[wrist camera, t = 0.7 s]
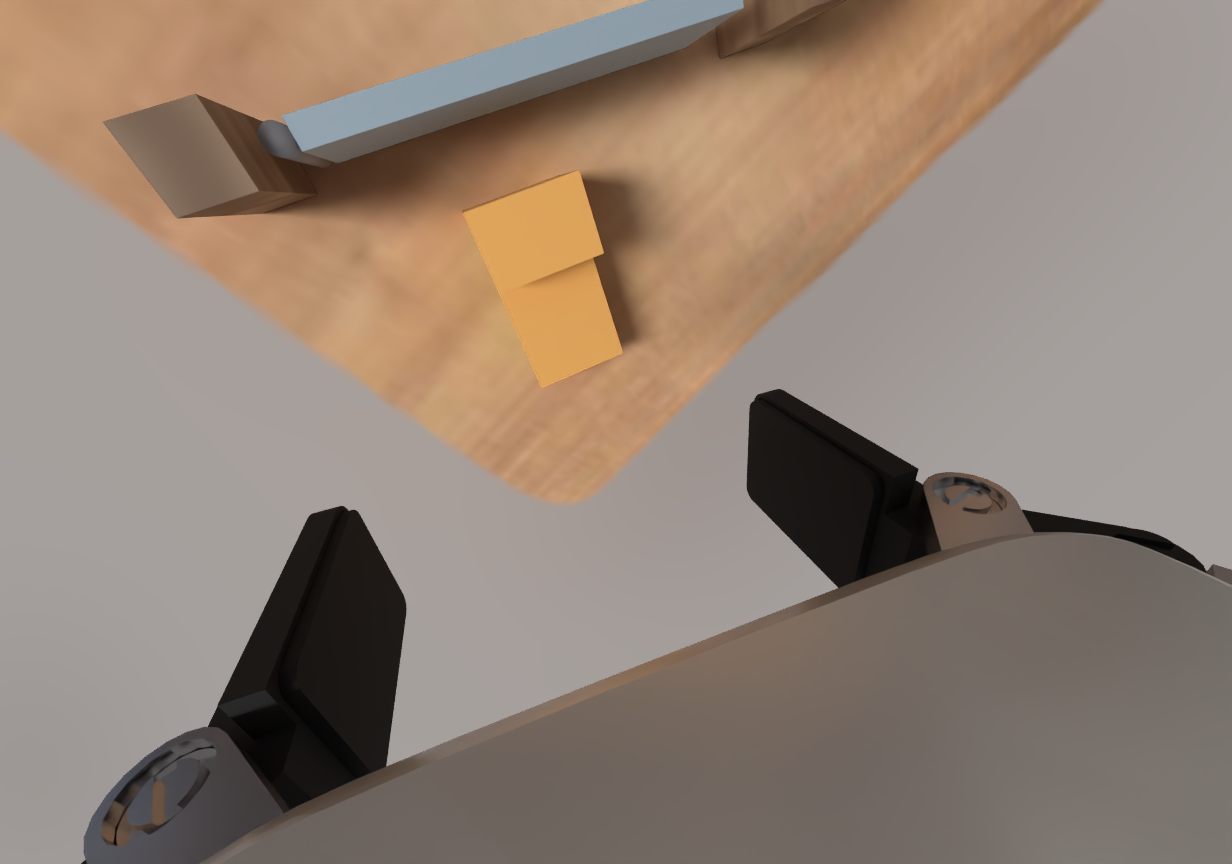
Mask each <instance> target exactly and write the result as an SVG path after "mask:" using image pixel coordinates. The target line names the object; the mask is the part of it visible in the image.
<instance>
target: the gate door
mask: <svg viewBox="0 0 1232 864" xmlns="http://www.w3.org/2000/svg"><path fill="white" fill-rule="evenodd" d="M743 8H744V5H743V0H648V1H645V2H642V3H639V4H635V5H632V6H629V7H626V8H623V9H620V10H616V11H613V12H610V13H607V14H604V15H600V16H597V17H594V18H591V19H588V20H585V21H581V22H578V23H575V24H572V25H569V26H565V27H562V28H559V29H556V30H553V31H550V32H546V33H543V34H540V35H537V36H534V37H530V38H527V39H524V40H521V41H518V42H515V43H511V44H508V45H505V46H502V47H499V48H495V49H492V50H489V51H486V52H483V53H479V54H476V55H473V56H470V57H467V58H464V59H460V60H457V61H454V62H451V63H448V64H444V65H441V66H438V67H435V68H432V69H429V70H425V71H422V72H419V73H416V74H413V75H409V76H406V77H403V78H400V79H397V80H394V81H390V82H387V83H384V84H381V85H378V86H374V87H371V88H368V89H365V90H362V91H359V92H355V93H352V94H349V95H346V96H343V97H339V98H336V99H333V100H330V101H327V102H324V103H320V104H317V105H314V106H311V107H308V108H304V109H301V110H298V111H295V112H292V113H289V114H285V115H282V118H283V120H284V121H285V123H286V125H287V126H286V125H284V124H282V123H280V122H277V121H274V120H267V121H264V122H262V123H261V124H260V125H259V127H258V131H257V135H258V139H259V141H260V143H261V145H262V146H263V147H264V149H265V150H266V151H268V152H269V153H270V154H272V155H274V156H277V157H281V158H285V159H289V160H293V161H297V162H301V163H304V164H308V165H312V166H316V167H320V168H326V167H328V166H330V165H331V163H332V162H335V163H341V162H344V161H347V160H350V159H353V158H356V157H359V156H362V155H365V154H368V153H371V152H374V151H377V150H380V149H383V148H386V147H389V146H392V145H395V144H398V143H401V142H404V141H407V140H410V139H413V138H416V137H419V136H422V135H425V134H428V133H431V132H434V131H437V130H440V129H443V128H446V127H449V126H452V125H455V124H458V123H461V122H464V121H467V120H470V119H473V118H476V117H479V116H482V115H485V114H488V113H491V112H494V111H497V110H500V109H503V108H506V107H509V106H512V105H515V104H518V103H521V102H524V101H527V100H530V99H534V98H537V97H540V96H543V95H546V94H549V93H552V92H555V91H558V90H561V89H564V88H567V87H570V86H573V85H576V84H579V83H582V82H585V81H588V80H591V79H594V78H597V77H600V76H603V75H606V74H609V73H612V72H615V71H618V70H621V69H624V68H627V67H630V66H633V65H636V64H639V63H642V62H645V61H648V60H651V59H654V58H657V57H660V56H663V55H666V54H669V53H672V52H675V51H678V50H681V49H684V48H686V47H688V46H689V45H691V44H692V43H693V42H695V41H696V40H698V39H699V38H701V37H702V36H704V35H705V34H707V33H708V32H709V31H711V30H712V29H714V28H715V27H717V26H718V25H720V24H721V23H723V22H724V21H725V20H727V19H728V18H730V17H731V16H733V15H734V14H736V13H737V12H739V11H740V10H741V9H743Z"/></svg>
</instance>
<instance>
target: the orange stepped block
mask: <svg viewBox="0 0 1232 864" xmlns="http://www.w3.org/2000/svg"><path fill="white" fill-rule="evenodd" d="M462 212H463V215H464V217H465V219H466V221H467V224H468V226H469V228H470V230H471V232H472V235H473V237H474V239H475V241H476V244H477V246H478V248H479V250H480V252H481V255H482V257H483V259H484V261H485V264H486V266H487V268H488V270H489V272H490V275H491V277H492V279H493V281H494V284H495V286H496V288H497V290H498V292H499V295H500V297H501V299H502V301H503V303H504V305H505V308H506V310H507V312H508V314H509V317H510V319H511V321H512V323H513V326H514V328H515V330H516V332H517V334H518V337H519V339H520V341H521V343H522V346H523V348H524V350H525V352H526V354H527V357H528V359H529V361H530V363H531V366H532V368H533V370H534V372H535V374H536V377H537V379H538V381H539V383H540V386H541V388H543V387H546V386H548V385H550V384H553V383H555V382H557V381H560V380H562V379H564V378H567V377H569V376H571V375H574V374H576V373H578V372H581V371H583V370H585V369H588V368H590V367H592V366H595V365H597V364H599V363H602V362H604V361H606V360H609V359H611V358H613V357H616V356H618V355H620V354H623V351H622V348H621V345H620V341H619V338H618V335H617V332H616V329H615V326H614V323H613V319H612V316H611V313H610V310H609V307H608V304H607V300H606V297H605V294H604V291H603V288H602V285H601V281H600V278H599V275H598V272H597V269H596V266H595V263H594V259H593V257H596V256H598V255H601V254H603V253H604V251H603V248H602V244H601V241H600V238H599V234H598V231H597V228H596V224H595V221H594V218H593V215H592V211H591V208H590V205H589V201H588V198H587V195H586V191H585V188H584V185H583V181H582V178H581V175H580V171H579V170H577V171H574V172H570V173H566V174H563V175H559V176H556V177H553V178H550V179H548V180H545V181H542V182H539V183H537V184H534V185H531V186H529V187H526V188H523V189H520V190H518V191H515V192H512V193H510V194H507V195H504V196H501V197H499V198H496V199H493V200H491V201H488V202H485V203H482V204H480V205H477V206H474V207H472V208H469V209H466V210H463V211H462Z"/></svg>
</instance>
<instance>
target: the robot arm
mask: <svg viewBox="0 0 1232 864" xmlns="http://www.w3.org/2000/svg"><path fill="white" fill-rule="evenodd" d="M917 472H918V468H916V467H914V466H913V465H911V464H909V463H907V462H906V461H904V460H902V459H901V458H899V457H897V456H895V455H894V454H892V453H890V452H888V451H887V450H885V449H883V448H882V447H880V446H878V445H876V444H875V443H873V442H871V441H870V440H868V439H866V438H864V437H863V436H861V435H859V434H857V433H856V432H854V431H852V430H851V429H849V428H847V427H845V426H844V425H842V424H840V423H838V422H837V421H835V420H833V419H832V418H830V417H828V416H826V415H825V414H823V413H821V412H820V411H818V410H816V409H814V408H813V407H811V406H809V405H808V404H806V403H804V402H802V401H800V400H799V399H797V398H795V397H794V396H792V395H790V394H789V393H787V392H785V391H783V390H781V389H777V390H773V391H769V392H765V393H762V394H758V395H757V396H756V398H755V400H754V401H753V402H752V403H751V405H750V412H749V438H748V465H747V491H748V493H749V496H750V498H751V499H752V500H753V501H754V502H755V503H756V504H757V505H758V506H759V507H760V508H761V509H762V511H763V512H764V513H765V514H767V516H768V517H769V518H770V519H771V520H772V521H773V522H774V523H775V524H776V525H777V526H778V527H779V528H780V529H781V530H782V531H783V532H784V533H785V534H786V535H787V536H788V537H789V538H790V539H791V540H792V541H793V542H794V543H795V544H796V545H797V546H798V547H799V548H800V549H801V550H802V551H803V552H804V553H805V554H806V555H807V556H808V557H809V558H810V559H811V560H812V561H813V562H814V563H815V564H816V565H817V566H818V567H819V568H820V569H821V571H823V573H825V575H826V576H827V577H829V579H830V580H831V581H832V582H833V583H834V584H835V585H836V586H837V587H838V589H835V590H832V591H830V592H827V593H825V594H822V595H820V596H817V597H814V598H812V599H809V600H806V601H804V602H801V603H798V604H796V605H793V606H791V607H788V608H786V609H783V610H780V611H778V612H775V613H772V614H770V615H767V616H765V617H762V618H759V619H757V620H754V621H752V622H749V623H746V624H744V625H741V626H739V627H736V628H734V629H731V630H728V631H726V632H723V633H721V634H718V635H716V636H713V637H710V638H708V639H705V640H703V641H700V642H698V643H695V644H693V645H690V646H687V647H685V648H682V649H680V650H677V651H674V652H672V653H669V654H667V655H664V656H662V657H659V658H657V659H654V660H651V661H649V662H647V663H644V664H641V665H639V666H636V667H634V668H631V669H628V670H626V671H623V672H621V673H618V674H616V675H613V676H611V677H608V678H605V679H603V680H600V681H598V682H596V683H593V684H590V685H588V686H585V687H583V688H580V689H578V690H575V691H573V692H570V693H568V694H565V695H563V696H560V697H557V698H555V699H552V700H550V701H547V702H545V703H543V704H540V705H537V706H535V707H532V708H530V709H527V710H525V711H522V712H520V713H517V714H515V715H512V716H510V717H507V718H505V719H502V720H500V721H497V722H495V723H492V724H490V725H487V726H485V727H482V728H479V729H477V730H474V731H472V732H469V733H467V734H464V735H462V736H459V737H457V738H455V739H452V740H450V741H447V742H445V743H442V744H440V745H437V746H435V747H433V748H430V749H428V750H426V751H423V752H421V753H419V754H416V755H413V756H411V757H409V758H406V759H404V760H401V761H399V762H396V763H394V764H392V765H389V766H387V767H386V763H387V756H388V748H389V740H390V733H391V725H392V718H393V710H394V702H395V695H396V687H397V680H398V672H399V664H400V657H401V649H402V641H403V634H404V626H405V618H406V602H405V598H404V595H403V593H402V591H401V589H400V588H399V586H398V584H397V582H396V580H395V578H394V577H393V575H392V573H391V571H390V570H389V568H388V566H387V564H386V562H385V560H384V558H383V556H382V555H381V553H380V551H379V549H378V547H377V546H376V544H375V542H374V540H373V538H372V536H371V534H370V532H369V531H368V529H367V527H366V525H365V523H364V522H363V520H362V518H361V516H360V514H359V513H358V512H357V511H356V510H351V511H348V509H346V508H345V507H344V506H339V507H335V508H332V509H328V510H324V511H321V512H317V513H313V514H311V515H310V516H309V517H308V519H307V521H306V523H305V525H304V527H303V529H302V531H301V533H300V535H299V538H298V540H297V542H296V544H295V546H294V548H293V550H292V552H291V554H290V556H289V558H288V560H287V562H286V565H285V567H284V569H283V571H282V573H281V575H280V577H279V579H278V581H277V583H276V585H275V588H274V589H273V592H272V593H271V596H270V598H269V600H268V602H267V604H266V606H265V608H264V610H263V613H262V614H261V616H260V618H259V620H258V623H257V625H256V627H255V629H254V631H253V633H252V635H251V637H250V639H249V641H248V644H247V645H246V647H245V649H244V652H243V654H242V656H241V658H240V660H239V662H238V664H237V666H236V668H235V670H234V672H233V674H232V677H231V678H230V681H229V683H228V685H227V687H226V689H225V691H224V693H223V695H222V697H221V699H220V701H219V703H218V707H217V709H216V711H215V713H214V715H213V717H212V719H211V721H210V723H209V725H208V727H202V728H199V729H195V730H192V731H188V732H186V733H183V734H181V735H179V736H177V737H176V738H173V739H171V740H170V741H168V742H166V743H164V744H163V745H161V746H160V747H159V748H157V749H156V750H154V751H153V752H151V753H150V754H148V755H147V756H146V757H144V758H143V759H142V760H141V761H140V762H139V763H138V764H136V765H135V766H134V767H133V768H132V769H131V770H130V771H129V772H127V773H126V774H125V775H124V776H123V777H122V779H121V780H120V781H119V782H118V783H117V784H116V785H115V786H114V787H113V789H112V790H111V791H110V792H109V793H108V794H107V795H106V797H105V798H104V800H103V801H102V803H101V804H100V806H99V807H98V809H97V810H96V812H95V813H94V815H93V816H92V818H91V821H90V823H89V826H88V828H87V831H86V833H85V836H84V856H85V859H86V860H85V861H84V862H83V863H81V864H1232V570H1231V569H1227V568H1224V567H1221V566H1217V565H1214V564H1213V565H1212V566H1211V567H1210V568H1209V570H1208V571H1206V570H1205V568H1204V566H1203V565H1202V564H1201V563H1200V562H1199V561H1198V560H1197V559H1196V558H1195V557H1194V556H1193V555H1191V554H1190V553H1188V552H1187V551H1185V550H1184V549H1182V548H1181V547H1179V546H1178V545H1175V544H1173V543H1172V542H1171V541H1169V540H1168V539H1166V538H1164V537H1162V536H1159V535H1157V534H1154V533H1151V532H1148V531H1144V530H1139V529H1131V528H1127V527H1123V526H1117V525H1111V524H1104V523H1099V522H1092V521H1087V520H1081V519H1075V518H1068V517H1062V516H1057V515H1051V514H1045V513H1039V512H1032V511H1027V510H1021V508H1020V506H1019V504H1018V503H1017V501H1016V499H1015V498H1014V497H1013V496H1012V494H1011V493H1010V492H1008V491H1007V490H1006V489H1004V488H1003V487H1001V486H1000V485H998V484H996V483H994V482H991V481H989V480H987V479H984V478H981V477H978V476H974V475H969V474H964V473H953V472H946V473H939V474H935V475H932V476H930V477H928V479H926V481H925V482H924V484H923V485H922V484H921V483H919V482H918V481H916V476H917Z"/></svg>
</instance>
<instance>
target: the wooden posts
mask: <svg viewBox="0 0 1232 864" xmlns="http://www.w3.org/2000/svg"><path fill="white" fill-rule="evenodd" d="M844 1H845V0H743V5H744V8H743V9H741V10H740V11H739V12H737V13H736V14H734V15H733V16H731V17H730V18H728V19H727V20H725V21H724V22H723V23H721V24H720V25H718V26H717V27H716V32H717V40H718V48H719V56H720V58H722V57H725V56H728V55H731V54H734V53H737V52H740V51H743V50H746V49H749V48H752V47H755V46H758V45H761V44H764V43H765V42H767V41H769V40H771V39H773V38H775V37H777V36H779V35H781V34H783V33H785V32H786V31H788V30H790V29H792V28H794V27H796V26H798V25H800V24H802V23H804V22H805V21H807V20H809V19H811V18H813V17H815V16H817V15H819V14H821V13H823V12H824V11H826V10H828V9H830V8H832V7H834V6H836V5H838V4H840V3H842V2H844ZM103 123H104V125H105V126H106V127H107V128H108V130H109V131H110V132H111V134H112V135H113V136H114V137H115V139H116V140H117V141H118V143H119V144H120V145H121V147H122V148H123V149H124V150H125V152H126V153H127V154H128V156H129V157H130V158H131V160H132V161H133V162H134V163H135V165H136V166H137V167H138V169H139V170H140V171H141V172H142V174H143V175H144V176H145V178H146V179H147V180H148V182H149V183H150V184H151V185H152V187H153V188H154V189H155V191H156V192H157V193H158V194H159V196H160V197H161V198H162V200H163V201H164V202H165V204H166V205H167V206H168V207H169V209H170V210H171V211H172V213H173V214H174V215H175V217H176V218H191V217H210V216H228V215H247V214H262V213H265V212H268V211H271V210H274V209H277V208H280V207H283V206H285V205H288V204H291V203H294V202H297V201H300V200H303V199H306V198H309V197H312V196H315V195H318V194H317V192H316V190H315V189H314V187H313V185H312V184H311V182H310V180H309V178H308V177H307V175H306V173H305V172H304V170H303V168H302V167H301V165H300V163H299V162H297V161H293V160H289V159H285V158H281V157H277V156H274V155H272V154H270V153H269V152H268V151H266V150H265V149H264V147H263V146H262V145H261V143H260V141H259V139H258V135H257V131H258V127H259V125H260V124H261V123H262V121H260V120H257V119H255V118H253V117H250V116H248V115H245V114H243V113H240V112H238V111H236V110H233V109H231V108H228V107H226V106H223V105H221V104H219V103H216V102H214V101H211V100H209V99H206V98H204V97H202V96H199V95H197V94H193V95H190V96H187V97H183V98H180V99H177V100H173V101H170V102H167V103H164V104H160V105H157V106H154V107H150V108H147V109H144V110H140V111H137V112H134V113H130V114H127V115H124V116H120V117H117V118H114V119H110V120H107V121H104V122H103Z"/></svg>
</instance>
